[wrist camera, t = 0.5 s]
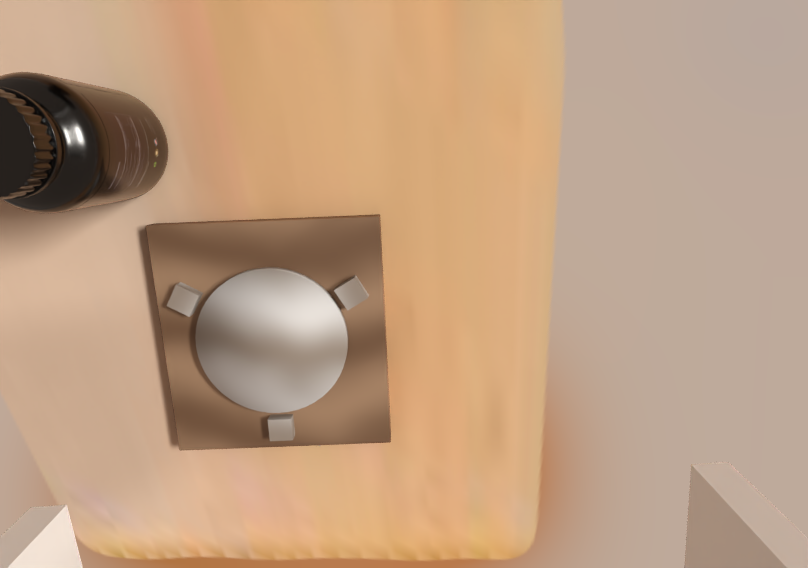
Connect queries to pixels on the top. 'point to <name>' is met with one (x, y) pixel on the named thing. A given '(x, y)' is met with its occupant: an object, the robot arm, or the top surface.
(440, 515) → the top surface
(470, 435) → the top surface
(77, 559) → the robot arm
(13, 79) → the supplement bottle
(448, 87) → the top surface
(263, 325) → the board
